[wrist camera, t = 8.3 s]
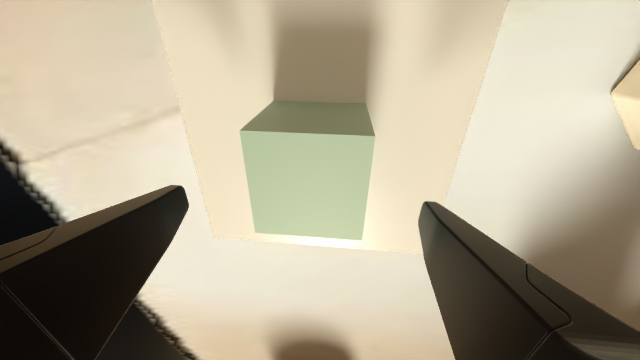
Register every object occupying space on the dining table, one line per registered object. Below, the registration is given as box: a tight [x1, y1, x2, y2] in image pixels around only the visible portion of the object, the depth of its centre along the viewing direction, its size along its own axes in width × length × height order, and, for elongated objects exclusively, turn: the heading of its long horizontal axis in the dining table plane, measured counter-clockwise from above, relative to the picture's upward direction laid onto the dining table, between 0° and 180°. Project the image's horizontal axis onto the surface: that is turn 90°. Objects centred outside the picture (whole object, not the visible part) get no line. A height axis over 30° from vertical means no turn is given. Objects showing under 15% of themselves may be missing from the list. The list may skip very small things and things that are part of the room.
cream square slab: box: [152, 0, 508, 254], centre depth 16 cm, size 16×16×3 cm
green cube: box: [239, 101, 375, 241], centre depth 13 cm, size 5×5×5 cm
